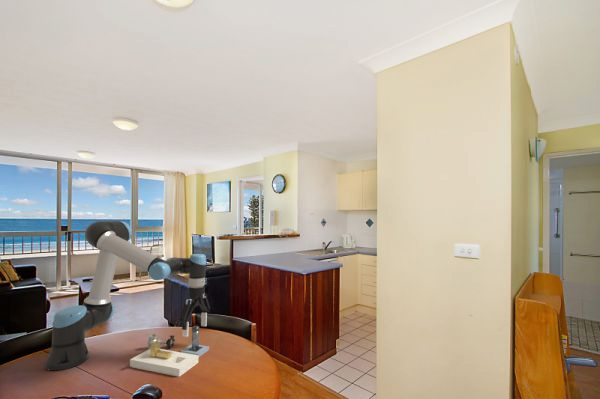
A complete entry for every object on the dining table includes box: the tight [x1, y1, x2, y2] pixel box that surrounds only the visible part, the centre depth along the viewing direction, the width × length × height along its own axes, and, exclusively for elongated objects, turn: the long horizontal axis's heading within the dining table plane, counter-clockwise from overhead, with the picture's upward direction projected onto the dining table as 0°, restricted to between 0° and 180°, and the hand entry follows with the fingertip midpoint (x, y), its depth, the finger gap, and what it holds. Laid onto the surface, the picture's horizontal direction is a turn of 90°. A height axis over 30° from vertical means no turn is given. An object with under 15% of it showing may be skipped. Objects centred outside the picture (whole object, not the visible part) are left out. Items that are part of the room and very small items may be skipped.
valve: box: [147, 333, 176, 350], centre depth 140 cm, size 7×7×12 cm
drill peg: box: [191, 325, 200, 352], centre depth 135 cm, size 3×3×12 cm
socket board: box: [129, 348, 200, 378], centre depth 123 cm, size 26×12×4 cm, turn 73°
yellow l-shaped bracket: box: [150, 342, 172, 359], centre depth 124 cm, size 9×3×5 cm, turn 73°
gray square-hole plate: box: [180, 343, 210, 358], centre depth 135 cm, size 10×8×2 cm
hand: (194, 331), depth 135 cm, fingers open, 13 cm apart
